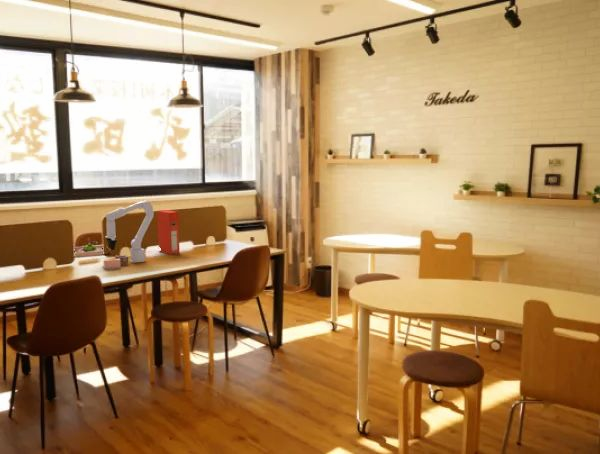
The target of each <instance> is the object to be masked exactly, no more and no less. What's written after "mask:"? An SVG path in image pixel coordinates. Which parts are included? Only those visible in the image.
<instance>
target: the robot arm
mask: <svg viewBox="0 0 600 454" xmlns="http://www.w3.org/2000/svg"><path fill="white" fill-rule="evenodd" d="M137 209H139V210H142V209H143V210H144V212H145V217H144V218H143V221H142V222H141V225H140V227H139V229H138V231H137V233H136V234H135V236H134V238H133V239H132V240H131V241H130V245H131V248H130V259H129V261H130V263H133V264H134V263H144V262H146V251H145V248H142V242H143V238H144V236H145V234H146V232H147V230H148V228H149V226H150V223H151V222H152V220H153V218H154V213H155V212H154V207H153V204H152V203H151V202H150V201H149V200H148V199H144V200H142V201H138V202H136V203H133V204H131V205H129V206H127V207H117V209H115V210H111V212H110V211H108V212H106V214H105V219H106V235H105V236H104V237H105V239H106V241H107V244H108V249H110V251H114V250H115V248H116V244H117V241H118V239H116V237H117V236H116V235H117V234H116V222H115V221H116V220H117V219H119V218H122V217H124V216H126V214H127V213H129V212H132V211H134V210H137ZM115 251H116V250H115Z"/></svg>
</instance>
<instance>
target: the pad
mask: <svg viewBox="0 0 600 454" xmlns="http://www.w3.org/2000/svg"><path fill="white" fill-rule="evenodd" d="M102 268H103V270H104V271H112V269H114V270H122V267H114V268H104V265H103V266H102Z"/></svg>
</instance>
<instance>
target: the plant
mask: <svg viewBox="0 0 600 454" xmlns="http://www.w3.org/2000/svg"><path fill="white" fill-rule="evenodd" d="M87 241H88V244H86V245H82V247H83V246H84V247H85V249H78V250H77V251H76V253H78V252H91V251H103V249H102V248H98V247H97V245H98V242H97V241H92V242H91V240H90V238H89V237H88V238H87ZM94 244H95V245H94ZM86 246H87V247H86Z"/></svg>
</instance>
